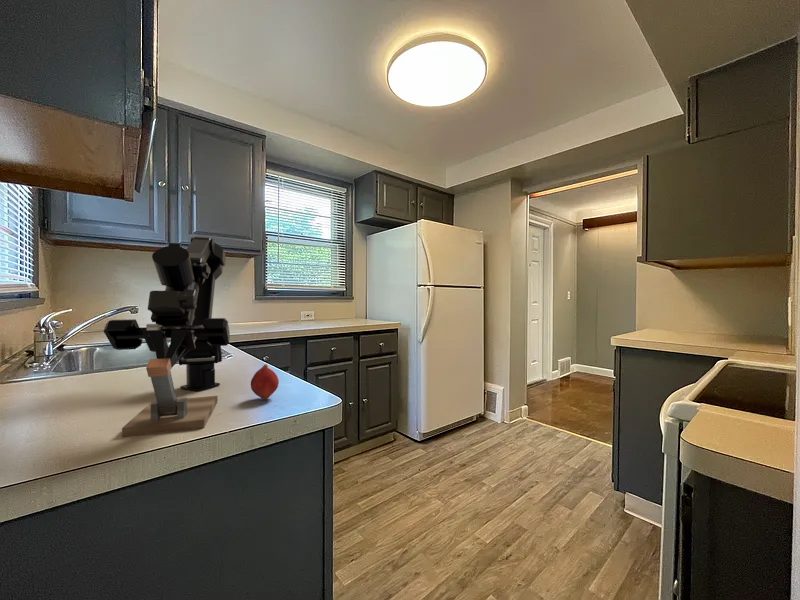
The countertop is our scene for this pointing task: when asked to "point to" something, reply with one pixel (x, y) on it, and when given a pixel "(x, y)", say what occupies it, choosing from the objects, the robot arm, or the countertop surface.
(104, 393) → the countertop surface
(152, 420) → the lever base
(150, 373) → the lever
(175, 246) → the robot arm
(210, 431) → the countertop surface
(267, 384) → the onion
